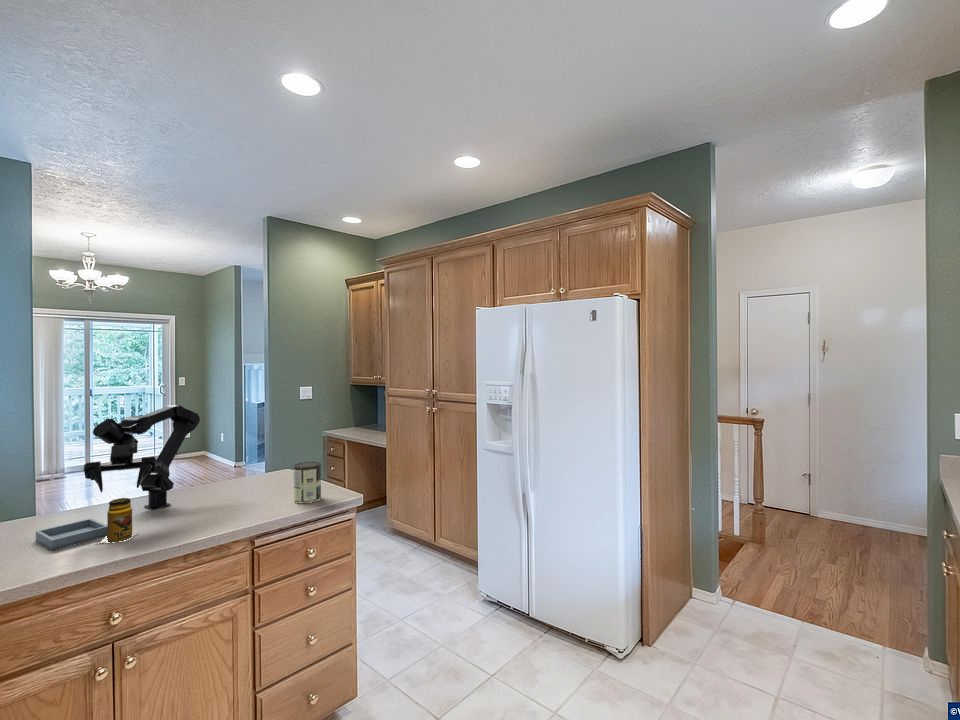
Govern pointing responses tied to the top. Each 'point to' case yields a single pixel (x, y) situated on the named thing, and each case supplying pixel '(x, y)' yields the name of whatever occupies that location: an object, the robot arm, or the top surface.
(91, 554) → the top surface
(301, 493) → the coffee can
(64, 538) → the bin
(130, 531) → the condiment
